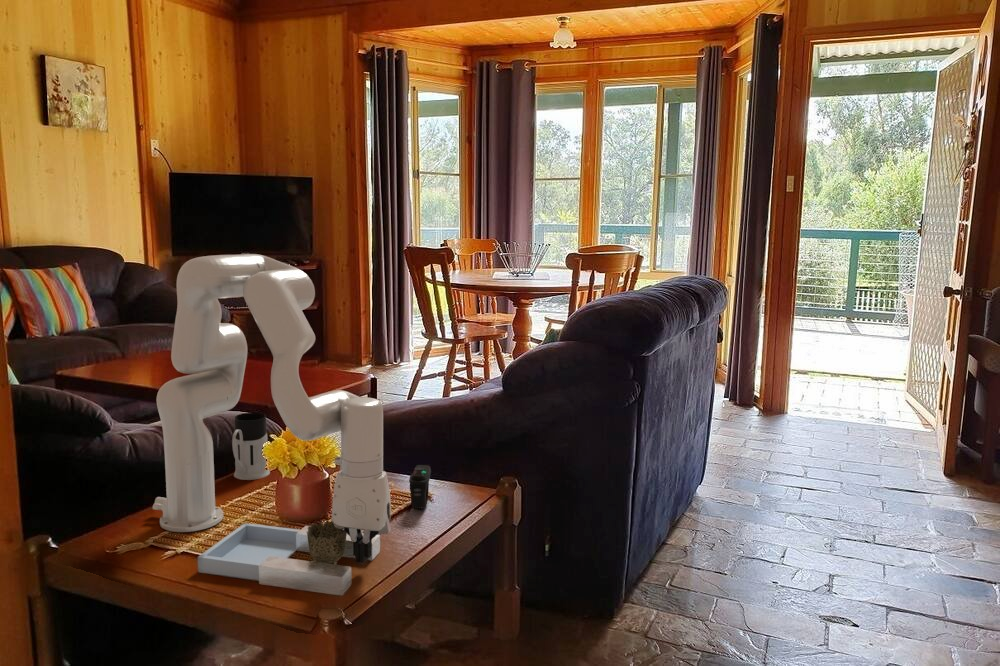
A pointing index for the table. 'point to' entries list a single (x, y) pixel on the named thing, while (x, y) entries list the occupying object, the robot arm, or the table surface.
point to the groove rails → (311, 569)
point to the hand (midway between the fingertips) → (362, 559)
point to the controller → (420, 485)
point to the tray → (247, 550)
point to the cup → (326, 542)
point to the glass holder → (249, 446)
